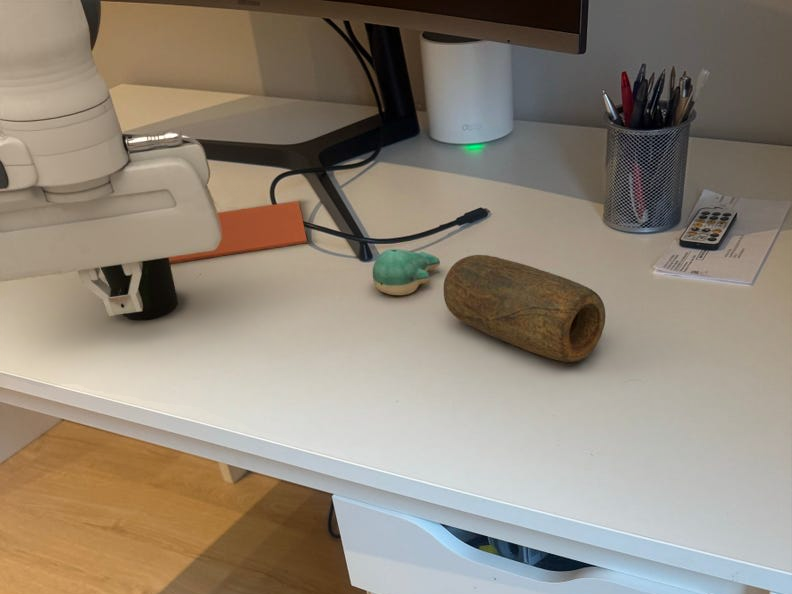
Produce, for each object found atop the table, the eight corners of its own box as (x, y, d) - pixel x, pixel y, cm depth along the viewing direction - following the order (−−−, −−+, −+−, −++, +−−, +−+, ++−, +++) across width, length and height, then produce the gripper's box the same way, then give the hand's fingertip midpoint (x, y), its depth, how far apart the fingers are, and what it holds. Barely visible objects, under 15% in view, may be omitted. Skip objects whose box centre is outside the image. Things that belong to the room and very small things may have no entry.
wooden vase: (615, 348, 78) (619, 271, 73) (565, 382, 75) (566, 304, 70) (486, 303, 85) (481, 231, 81) (435, 332, 82) (427, 259, 77)
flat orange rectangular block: (121, 271, 96) (120, 268, 96) (127, 228, 105) (126, 226, 104) (307, 242, 98) (306, 240, 98) (299, 203, 107) (298, 200, 106)
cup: (142, 286, 93) (99, 161, 85) (204, 293, 91) (166, 166, 82) (95, 320, 88) (44, 191, 80) (159, 329, 86) (114, 198, 78)
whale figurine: (361, 290, 89) (355, 251, 87) (413, 263, 93) (408, 225, 90) (403, 305, 86) (398, 266, 84) (454, 277, 90) (451, 238, 87)
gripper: (198, 115, 75) (241, 279, 85) (-57, 149, 73) (17, 312, 83) (198, 139, 70) (242, 308, 80) (-74, 175, 68) (6, 345, 78)
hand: (126, 311), depth 81 cm, fingers closed
